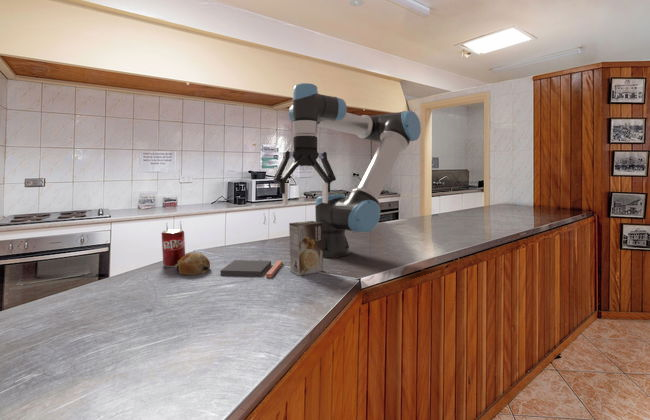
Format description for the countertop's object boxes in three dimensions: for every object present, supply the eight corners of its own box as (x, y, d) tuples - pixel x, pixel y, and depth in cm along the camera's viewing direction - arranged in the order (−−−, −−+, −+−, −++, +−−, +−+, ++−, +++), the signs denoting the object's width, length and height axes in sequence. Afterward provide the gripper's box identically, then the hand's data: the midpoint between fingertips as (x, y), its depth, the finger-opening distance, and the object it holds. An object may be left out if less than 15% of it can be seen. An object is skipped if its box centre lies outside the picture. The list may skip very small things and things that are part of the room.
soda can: (163, 263, 125) (162, 230, 124) (185, 261, 128) (184, 228, 127) (162, 268, 119) (160, 233, 117) (185, 266, 121) (183, 232, 120)
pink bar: (282, 264, 124) (282, 260, 124) (271, 277, 108) (271, 274, 108) (277, 264, 124) (277, 260, 124) (266, 277, 108) (266, 273, 108)
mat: (271, 265, 123) (271, 260, 123) (260, 276, 110) (260, 271, 110) (234, 264, 124) (234, 260, 124) (220, 275, 111) (220, 270, 111)
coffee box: (313, 267, 120) (313, 220, 119) (323, 271, 115) (323, 222, 113) (289, 271, 115) (288, 222, 114) (299, 276, 110) (298, 225, 108)
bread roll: (193, 287, 110) (202, 265, 109) (166, 272, 112) (175, 250, 110) (210, 278, 120) (218, 258, 119) (185, 264, 121) (193, 244, 120)
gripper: (335, 138, 119) (335, 201, 121) (263, 135, 109) (264, 204, 111) (346, 136, 112) (345, 203, 114) (269, 132, 102) (270, 206, 104)
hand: (305, 203), depth 113 cm, fingers open, 13 cm apart
